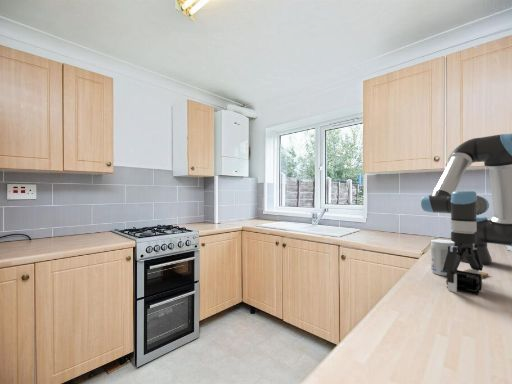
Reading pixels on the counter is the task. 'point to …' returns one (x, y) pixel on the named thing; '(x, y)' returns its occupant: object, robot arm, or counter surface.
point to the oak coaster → (479, 273)
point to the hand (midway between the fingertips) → (463, 288)
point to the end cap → (468, 282)
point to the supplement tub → (439, 255)
